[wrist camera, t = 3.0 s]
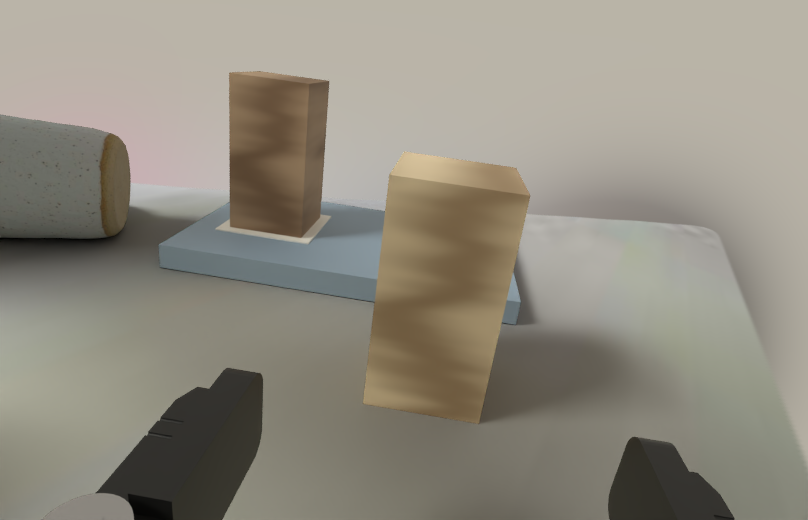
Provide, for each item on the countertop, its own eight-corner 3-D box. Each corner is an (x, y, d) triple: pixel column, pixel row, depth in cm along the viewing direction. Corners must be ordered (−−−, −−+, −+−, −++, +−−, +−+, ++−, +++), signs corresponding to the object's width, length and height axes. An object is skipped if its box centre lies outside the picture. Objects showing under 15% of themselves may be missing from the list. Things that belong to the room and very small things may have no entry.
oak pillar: (362, 403, 22) (389, 174, 18) (380, 343, 26) (404, 151, 23) (478, 423, 21) (530, 195, 18) (475, 359, 26) (515, 167, 22)
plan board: (159, 267, 31) (158, 243, 31) (248, 207, 44) (248, 189, 44) (515, 324, 30) (521, 300, 29) (499, 245, 43) (503, 227, 42)
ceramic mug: (119, 255, 32) (108, 132, 29) (-40, 255, 29) (-68, 120, 27) (142, 207, 41) (136, 110, 39) (22, 204, 39) (7, 100, 36)
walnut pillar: (229, 227, 35) (229, 72, 31) (257, 207, 39) (259, 71, 36) (301, 238, 34) (309, 83, 31) (320, 217, 39) (329, 81, 35)
